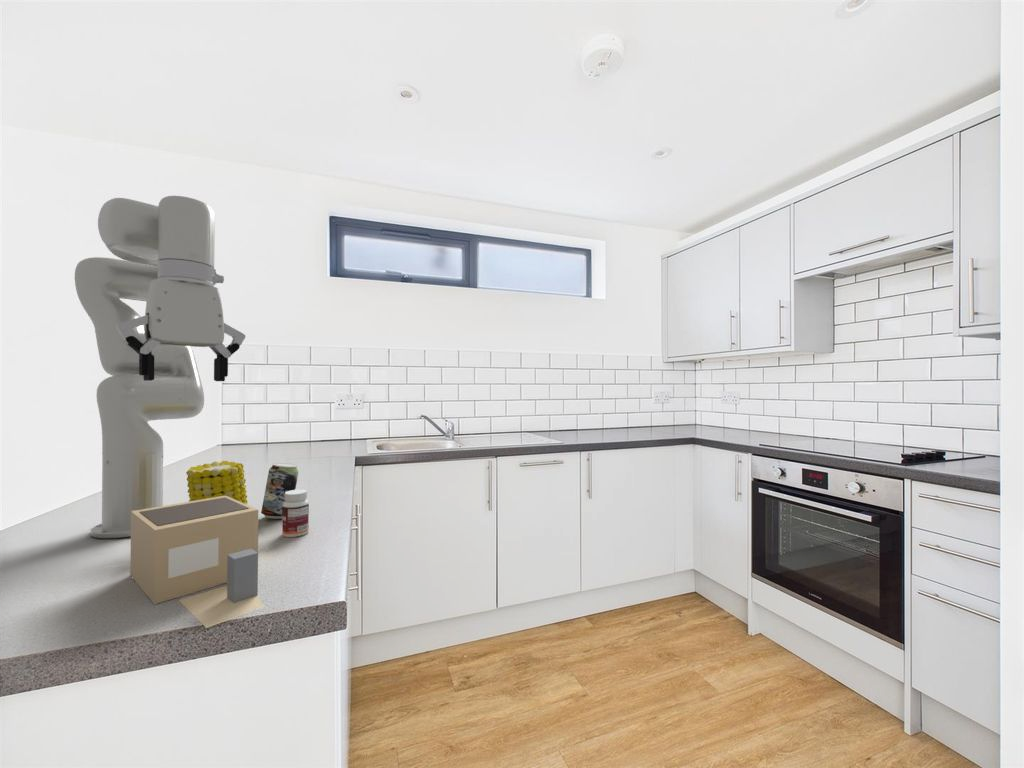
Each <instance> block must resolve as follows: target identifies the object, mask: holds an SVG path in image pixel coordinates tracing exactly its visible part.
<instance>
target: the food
mask: <svg viewBox="0 0 1024 768" xmlns="http://www.w3.org/2000/svg"><path fill="white" fill-rule="evenodd" d="M244 472H245V469H244V464H243V463H239V462H235V461H230V462H229V461H228V460H222V461H221V462H220V461H213V462H210V463H203V465H202V464H199V465H196V466H192V467H190V468H189V469H188V470H187V471H186V475H187V477H186V481H187V488H188V489H187V493H188V497H189V500H188V502H190V501H196V500H202V499H208V498H214V497H220V496H228V497H230V498H233V499H235V500H237V501H239V502H242V503H244V504H246V505H248V502H249V501H248V495H247V489H246V488H247V485H246V484H245V483H246V481H247V479H246V478H245V473H244Z"/></svg>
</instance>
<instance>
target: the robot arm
mask: <svg viewBox="0 0 1024 768" xmlns="http://www.w3.org/2000/svg"><path fill="white" fill-rule="evenodd" d="M215 220H216V217H215V211H214V210H213V209H212V207H210V205H208V204H207V203H206V202H203V201H201V200H198V199H196V198H192V197H188V196H181V195H168V196H165V197H162V198H161V199H160V201H159V202H158V205H154V204H151V203H146V202H143V201H139V200H135V199H130V198H125V197H113V198H111V199H109V200H106V202H104V203H103V204H102V206H101V208H100V210H99V213H98V218H97V228H98V229H97V230H98V233H99V236H100V238H101V241H102V242H103V243H104V245H105V246H106V248H107V250H108V251H109V252H111V254H113V255H114V256H116V257H117V258H120V259H117V258H112V257H111V258H110V257H99V256H97V257H96V256H95V257H87V258H84V259H82V260H79V262H78V263H77V264H76V267H75V269H74V285H75V291H76V294H77V297H78V300H79V302H80V304H81V306H82V308H83V310H84V312H86V314H87V315H88V317H89V319H90V320H91V322H92V324H93V327H94V333H95V338H96V344H97V349H98V350H97V351H98V356H99V360H100V363H101V367H102V369H103V370H104V372H105V373H106V374H108V375H110V376H109V377H106V378H104V379H103V380H102V381H100V383H99V384H98V386H97V389H96V404H97V408H98V413H99V418H100V425H101V441H102V443H101V444H102V446H101V448H102V450H101V452H102V453H101V455H102V457H101V459H102V462H101V463H102V464H101V465H102V470H101V475H102V476H101V477H102V479H101V481H102V482H101V523H100V524H97V525H95V526H93V527H92V528H91V529H90V536H91V537H93V538H95V539H96V538H97V539H121V538H128V537H131V511H135V510H141V509H147V508H153V507H160V506H164V441H163V439H162V436H161V435H160V434H159V433H158V432H157V431H156V430H155V429H154V428H153V427H152V426H150V424H149V423H148V422H150V421H157V420H158V421H159V420H163V421H164V420H178V419H179V420H181V419H191V418H194V417H196V416H198V415H199V414H200V413H201V412H202V411H203V408H204V405H205V393H204V388H203V384H202V380H201V377H200V373H199V369H198V365H197V362H196V357H195V354H194V350H193V349H192V347H194V348H195V347H196V348H197V347H199V348H207V347H208V348H210V350H211V351H212V352H213V353H214V354H215V355H216V358H214V359H213V381H215V382H225V381H226V378H228V376H229V358H231V356H232V355H234V354H235V353H236V352H238V350H239V349H240V346H241V345H242V344H243V342H244V341H245V339H246V335H245V334H244V333H243V332H241V331H239V330H237V329H236V328H234V327H232V326H230V325H229V324H227V323H225V322H224V310H223V304H222V300H221V293H220V290H219V288H218V287H216V286H215V285H217V284H223V283H224V281H225V276H224V275H220V274H218V273H217V271H216V269H215V239H216V238H215V237H216V236H215V234H216V233H215V232H216V231H215V230H216V226H215V225H216V221H215ZM122 299H123V300H132V301H140V302H146V305H145V311H144V312H145V313H144V315H143V316H141V315H140V314H139V313H138V312H137V311H136V310H134V308H132V307H131V306H130V305H128V304H127V303H125V302H124V301H123V300H122ZM225 335H227V336H229V337H231V338H232V341H231V342H230V344H229V345H227V346H225V345H224V344H223V342H225V341H224V340H225Z"/></svg>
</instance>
